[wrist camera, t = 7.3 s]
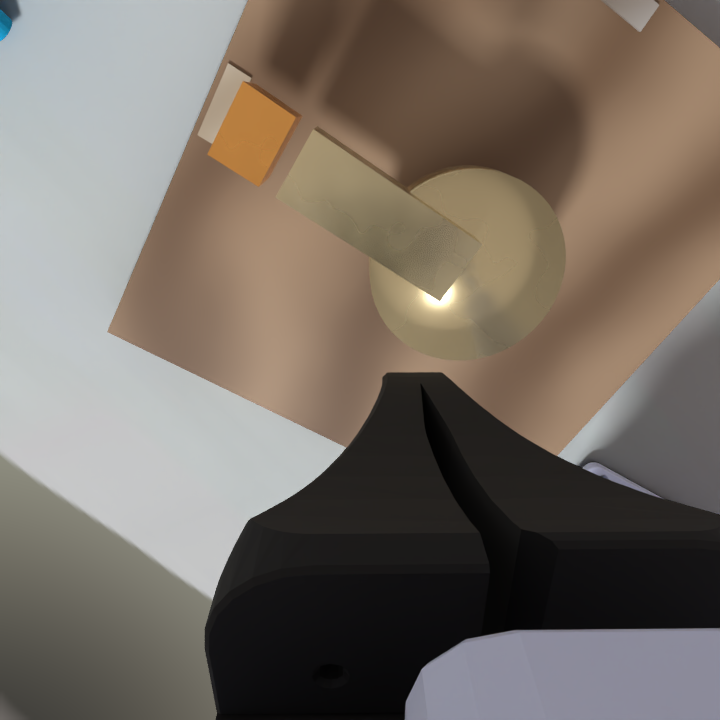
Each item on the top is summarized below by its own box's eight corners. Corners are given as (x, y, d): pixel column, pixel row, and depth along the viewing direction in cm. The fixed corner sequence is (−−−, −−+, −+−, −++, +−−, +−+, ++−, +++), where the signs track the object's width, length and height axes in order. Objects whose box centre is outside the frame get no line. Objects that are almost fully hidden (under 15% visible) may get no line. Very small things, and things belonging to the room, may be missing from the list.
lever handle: (590, 234, 17) (623, 251, 15) (475, 374, 19) (489, 405, 17) (292, 13, 14) (282, -2, 12) (196, 206, 16) (175, 220, 14)
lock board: (803, 146, 19) (893, 154, 16) (489, 498, 26) (509, 552, 23) (358, -228, 15) (360, -320, 12) (122, 317, 22) (83, 353, 19)
